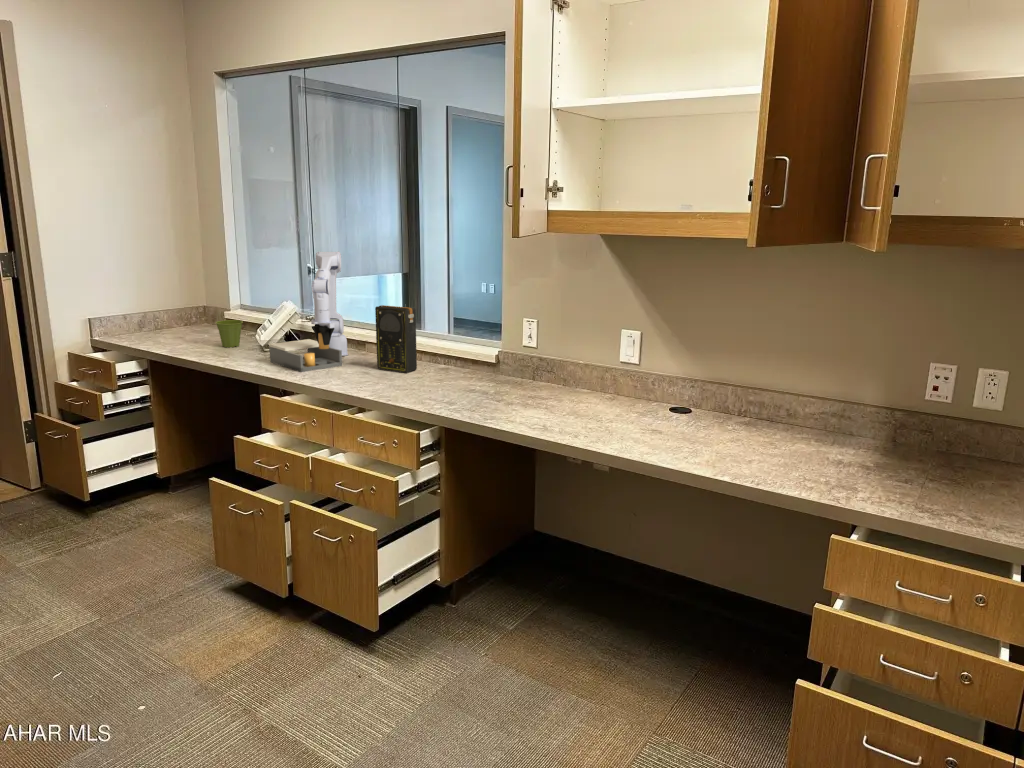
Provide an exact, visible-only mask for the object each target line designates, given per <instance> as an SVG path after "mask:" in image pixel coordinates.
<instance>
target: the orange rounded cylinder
mask: <svg viewBox="0 0 1024 768" xmlns="http://www.w3.org/2000/svg"><path fill="white" fill-rule="evenodd" d="M303 360H304V361H305V366H306V367H310V366H315V353H308V352H306V353H303Z"/></svg>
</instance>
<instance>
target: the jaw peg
mask: <svg viewBox="0 0 1024 768" xmlns="http://www.w3.org/2000/svg"><path fill="white" fill-rule="evenodd" d="M318 338H319V349H329V345H324V343H323V337H322V333H318Z"/></svg>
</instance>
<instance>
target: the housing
mask: <svg viewBox="0 0 1024 768" xmlns="http://www.w3.org/2000/svg"><path fill="white" fill-rule="evenodd" d="M268 348H269V349H268V350H269V359H270V360H269V362H270V363H272V364H275V365H278V366H281V367H285V368H288V369H291V370H294V371H297V372H300V373H304V372H311V371H316V370H325V369H331V368H336V367H342V366H343V356H342V350H338V349H334V348H330V347H329V349H319V347H314V348H307V353H315V366H310V367H306V366H305V361H304V355H303V354H302V355H301V354H298V353H294V352H291V351H283V350H280V349H276V348H273V347H270V346H268Z"/></svg>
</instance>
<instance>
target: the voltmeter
mask: <svg viewBox="0 0 1024 768" xmlns="http://www.w3.org/2000/svg"><path fill="white" fill-rule="evenodd" d="M416 310H417V309H416V308H414V307H406V306H405V307H404V306H394V305H383V304H381V305H379V306H375V310H374V311H375V312H374V313H375V340H376V344H375V346H376V366H377V367H376V368H377V369H378V370H382V371H388V372H393V373H394V372H396V373H402V374H408V373H410V372H413V371H416V370H417V368H418V364H417V363H418V362H417V361H418V358H417V354H418V353H417V321H416V320H417V319H416V317H417V316H416V315H417V311H416Z"/></svg>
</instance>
